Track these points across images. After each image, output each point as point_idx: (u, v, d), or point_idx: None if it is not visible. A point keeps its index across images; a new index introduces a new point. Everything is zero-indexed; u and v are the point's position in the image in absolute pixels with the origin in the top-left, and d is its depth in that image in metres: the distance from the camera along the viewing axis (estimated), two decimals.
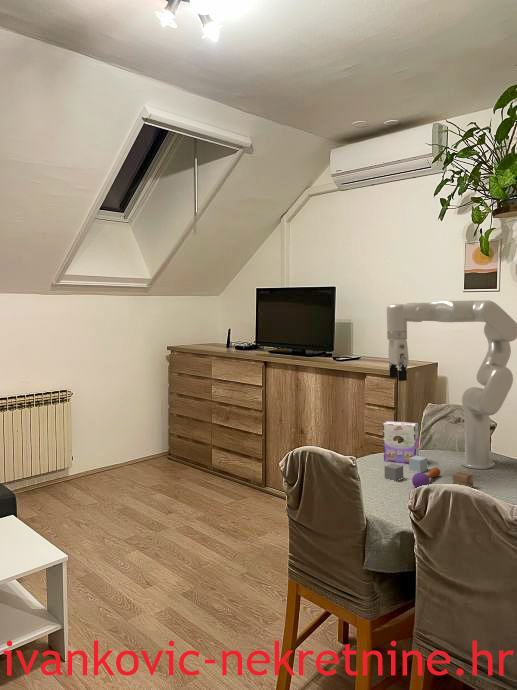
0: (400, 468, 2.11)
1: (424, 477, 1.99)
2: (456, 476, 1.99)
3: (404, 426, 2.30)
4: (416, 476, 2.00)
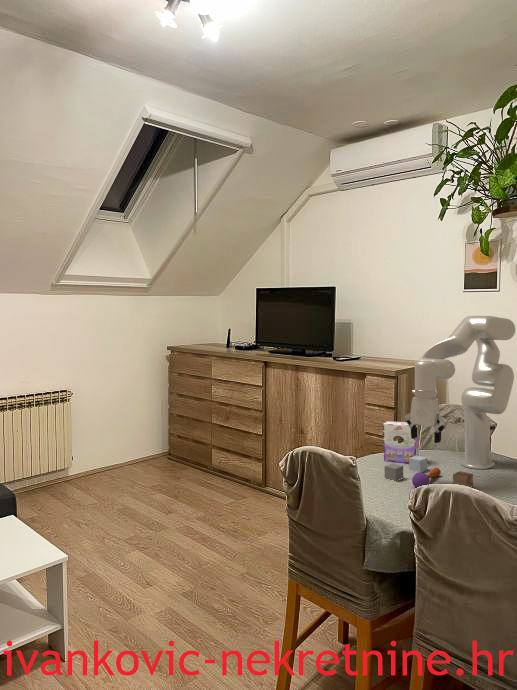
0: (400, 468, 2.11)
1: (424, 477, 1.99)
2: (456, 476, 1.99)
3: (404, 426, 2.30)
4: (416, 476, 2.00)
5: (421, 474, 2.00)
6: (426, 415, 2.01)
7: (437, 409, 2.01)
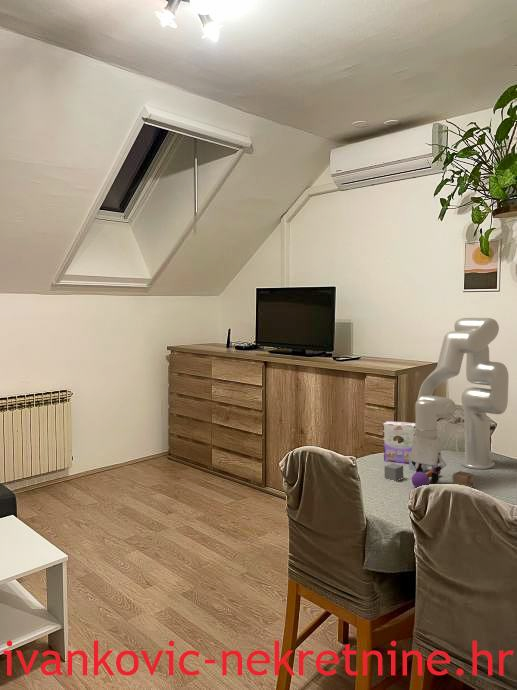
0: (400, 468, 2.11)
1: (424, 476, 1.99)
2: (456, 476, 1.99)
3: (404, 426, 2.30)
4: (416, 475, 2.00)
5: (421, 473, 2.00)
6: (427, 454, 2.02)
7: (438, 448, 2.02)
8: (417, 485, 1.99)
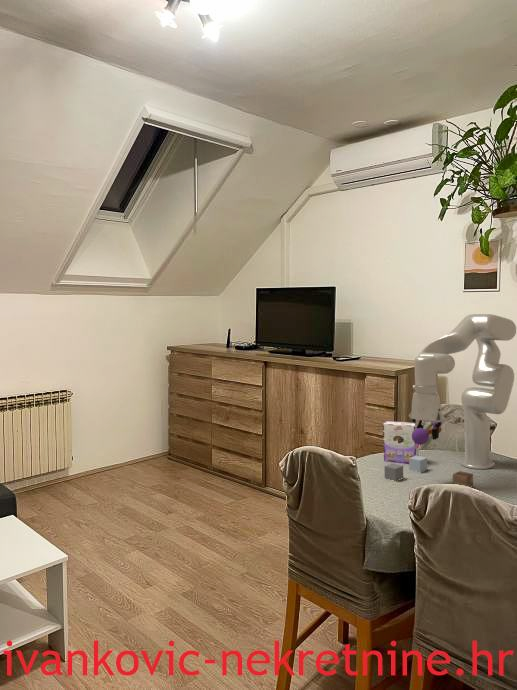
0: (400, 468, 2.11)
1: (423, 432, 1.98)
2: (456, 476, 1.99)
3: (404, 426, 2.30)
4: (415, 431, 1.99)
5: (420, 429, 1.99)
6: (427, 410, 2.01)
7: (438, 404, 2.01)
8: (417, 441, 1.98)
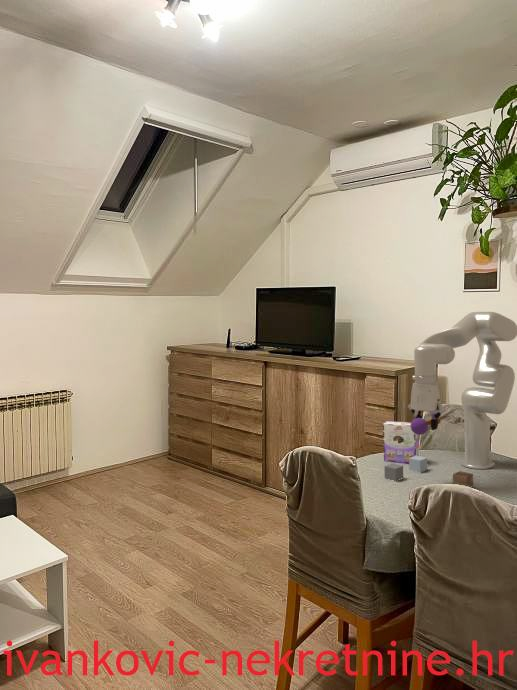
0: (400, 468, 2.11)
1: (422, 422, 1.98)
2: (456, 476, 1.99)
3: (404, 426, 2.30)
4: (414, 421, 1.99)
5: (419, 419, 1.99)
6: (426, 400, 2.01)
7: (437, 394, 2.00)
8: (416, 431, 1.98)
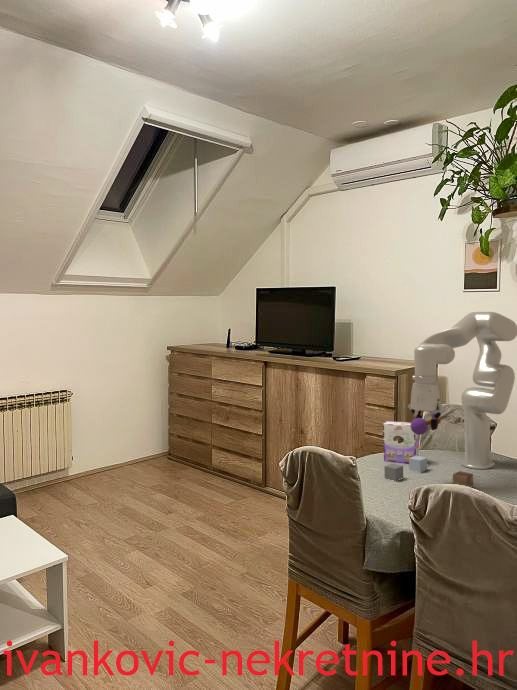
0: (400, 468, 2.11)
1: (422, 422, 1.98)
2: (456, 476, 1.99)
3: (404, 426, 2.30)
4: (414, 421, 1.99)
5: (419, 419, 1.99)
6: (426, 400, 2.01)
7: (437, 394, 2.00)
8: (416, 431, 1.98)
